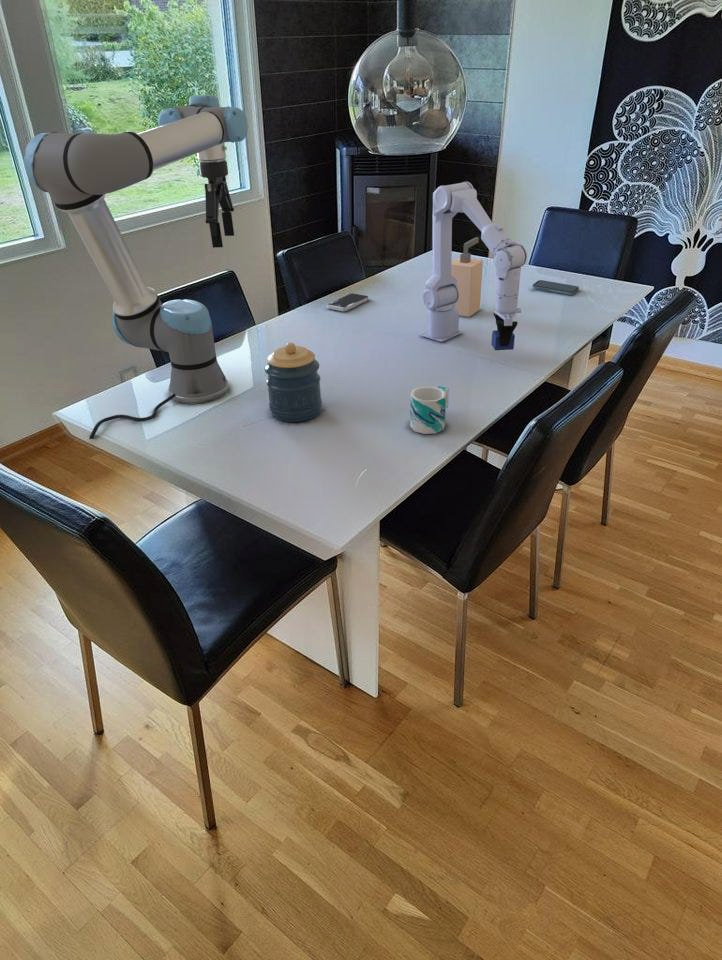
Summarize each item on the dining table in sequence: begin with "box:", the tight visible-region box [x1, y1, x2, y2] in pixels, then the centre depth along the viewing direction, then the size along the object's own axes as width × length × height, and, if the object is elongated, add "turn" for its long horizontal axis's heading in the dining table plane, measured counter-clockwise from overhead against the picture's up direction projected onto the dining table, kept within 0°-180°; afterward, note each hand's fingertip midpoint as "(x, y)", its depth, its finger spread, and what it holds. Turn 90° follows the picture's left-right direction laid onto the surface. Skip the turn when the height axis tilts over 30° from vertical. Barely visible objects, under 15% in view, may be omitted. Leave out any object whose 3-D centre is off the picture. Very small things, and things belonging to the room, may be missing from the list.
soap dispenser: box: [451, 236, 484, 318], centre depth 219 cm, size 13×9×22 cm
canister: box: [264, 342, 323, 423], centre depth 161 cm, size 13×13×18 cm
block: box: [490, 329, 516, 351], centre depth 184 cm, size 4×5×4 cm
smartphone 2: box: [531, 279, 580, 296], centre depth 239 cm, size 8×2×15 cm
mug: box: [409, 385, 450, 435], centre depth 156 cm, size 8×12×8 cm
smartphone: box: [326, 292, 369, 312], centre depth 233 cm, size 8×1×15 cm
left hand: (223, 241), depth 193 cm, fingers open, 13 cm apart
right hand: (503, 342), depth 184 cm, fingers closed on block, 5 cm apart
